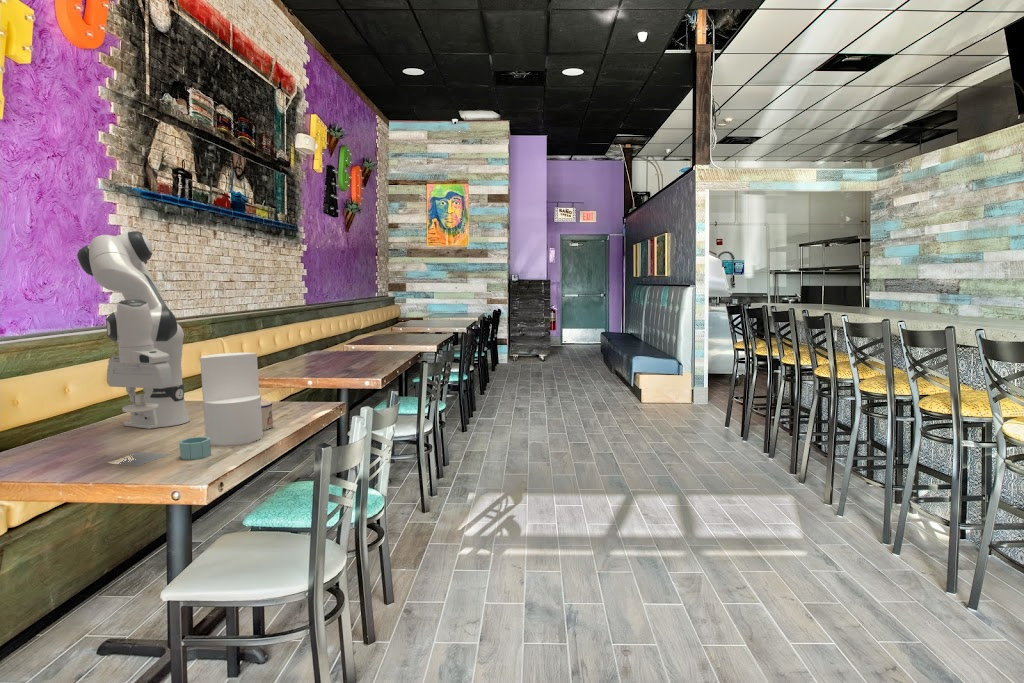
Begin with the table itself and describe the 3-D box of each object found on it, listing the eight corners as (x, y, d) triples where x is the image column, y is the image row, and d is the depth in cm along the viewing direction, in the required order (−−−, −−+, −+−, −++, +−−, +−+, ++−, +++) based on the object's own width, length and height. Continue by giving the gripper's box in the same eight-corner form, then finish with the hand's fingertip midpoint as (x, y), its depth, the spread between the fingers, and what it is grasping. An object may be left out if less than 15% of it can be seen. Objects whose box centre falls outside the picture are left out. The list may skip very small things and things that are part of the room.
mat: (103, 464, 177) (103, 463, 177) (137, 452, 188) (137, 452, 188) (137, 466, 174) (137, 465, 174) (170, 455, 185) (170, 454, 185)
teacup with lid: (273, 429, 215) (272, 397, 214) (245, 432, 212) (243, 399, 211) (273, 422, 226) (271, 391, 225) (246, 425, 223) (244, 393, 222)
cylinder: (199, 438, 204) (194, 355, 201) (253, 430, 215) (248, 351, 212) (213, 449, 191) (208, 360, 188) (270, 439, 202) (265, 355, 199)
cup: (174, 459, 180) (173, 443, 180) (194, 452, 188) (193, 436, 188) (197, 461, 179) (196, 444, 178) (216, 453, 186) (215, 437, 186)
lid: (115, 411, 176) (113, 397, 176) (140, 405, 185) (139, 391, 185) (140, 412, 174) (139, 398, 174) (165, 406, 183) (164, 392, 182)
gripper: (98, 356, 178) (102, 403, 179) (156, 357, 172) (159, 406, 174) (118, 353, 184) (121, 399, 185) (174, 355, 178) (177, 401, 180)
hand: (140, 402), depth 179 cm, fingers closed on lid, 3 cm apart
